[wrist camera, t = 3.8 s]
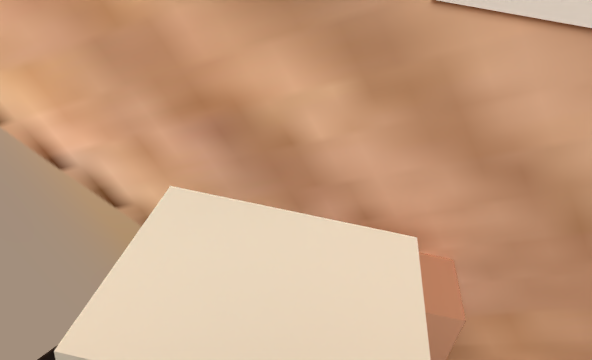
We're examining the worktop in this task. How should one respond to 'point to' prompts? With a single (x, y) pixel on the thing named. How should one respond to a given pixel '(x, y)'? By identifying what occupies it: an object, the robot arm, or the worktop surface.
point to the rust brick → (441, 304)
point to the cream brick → (254, 289)
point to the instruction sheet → (539, 9)
